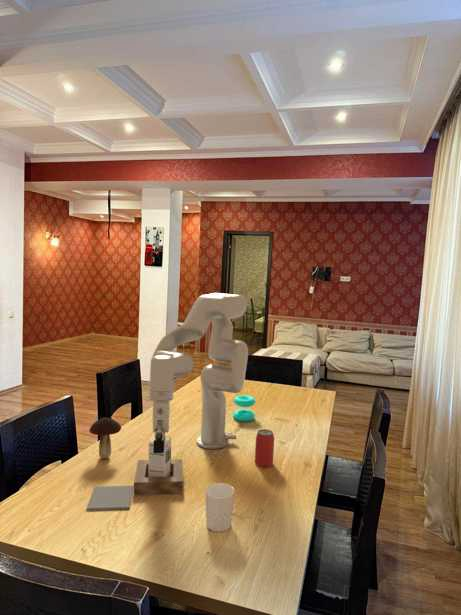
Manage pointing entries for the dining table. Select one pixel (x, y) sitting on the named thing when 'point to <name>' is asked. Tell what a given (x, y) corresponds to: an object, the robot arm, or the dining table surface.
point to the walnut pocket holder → (158, 480)
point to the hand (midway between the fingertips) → (159, 446)
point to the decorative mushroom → (105, 434)
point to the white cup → (219, 506)
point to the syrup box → (160, 460)
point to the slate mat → (110, 498)
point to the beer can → (264, 448)
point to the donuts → (244, 413)
